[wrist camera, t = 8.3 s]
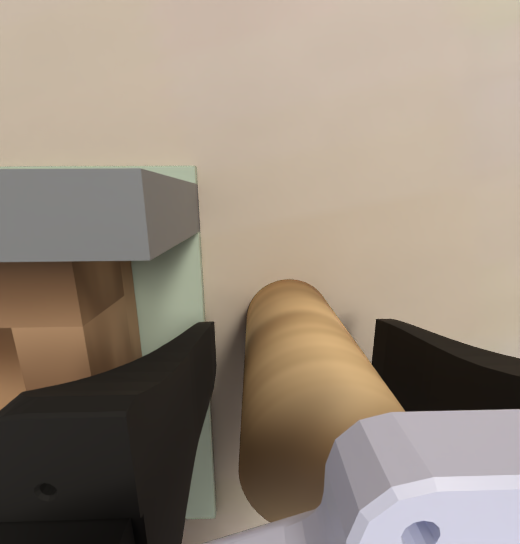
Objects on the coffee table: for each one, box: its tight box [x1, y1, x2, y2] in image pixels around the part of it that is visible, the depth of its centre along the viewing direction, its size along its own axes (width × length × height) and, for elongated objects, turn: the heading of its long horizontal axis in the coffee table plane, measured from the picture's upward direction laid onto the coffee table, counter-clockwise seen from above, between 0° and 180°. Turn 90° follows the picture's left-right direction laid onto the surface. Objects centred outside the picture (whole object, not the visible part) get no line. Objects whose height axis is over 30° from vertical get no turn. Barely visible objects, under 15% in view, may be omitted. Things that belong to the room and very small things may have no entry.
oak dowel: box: [239, 279, 406, 522], centre depth 10 cm, size 4×4×8 cm
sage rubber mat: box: [0, 166, 216, 519], centre depth 14 cm, size 19×16×1 cm
